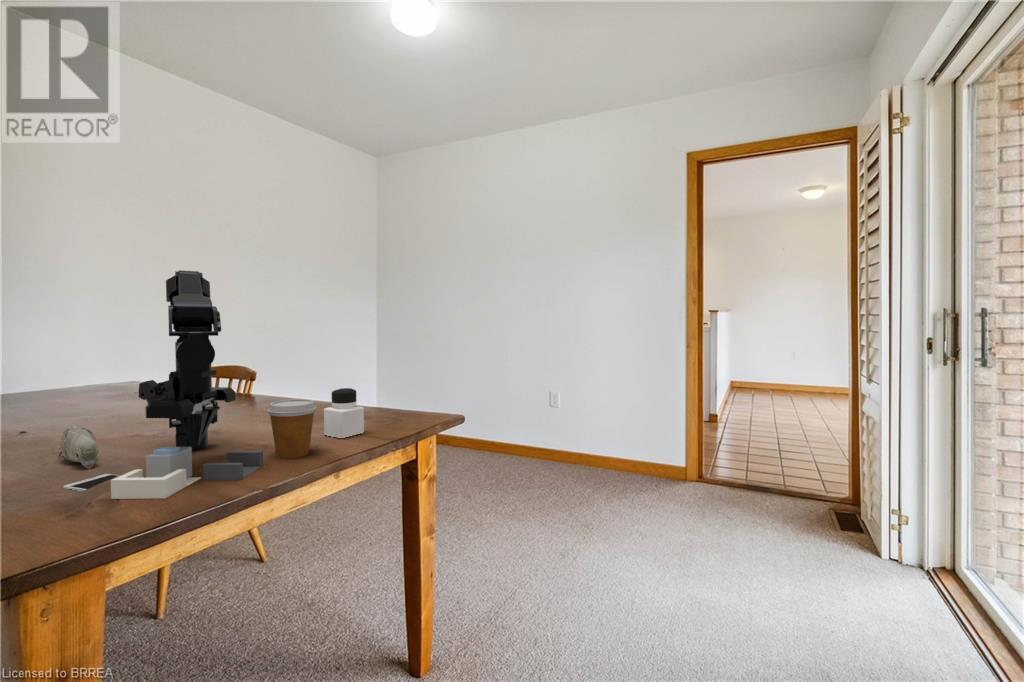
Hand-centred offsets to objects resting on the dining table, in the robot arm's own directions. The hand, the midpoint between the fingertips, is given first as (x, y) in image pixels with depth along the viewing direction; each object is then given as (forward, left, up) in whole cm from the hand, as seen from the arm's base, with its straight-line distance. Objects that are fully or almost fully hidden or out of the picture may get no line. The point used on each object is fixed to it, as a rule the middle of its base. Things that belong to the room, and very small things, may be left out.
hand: (195, 445), depth 92 cm
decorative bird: (-8, -28, -6) cm, 29 cm away
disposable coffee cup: (-10, +15, -6) cm, 18 cm away
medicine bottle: (-30, +20, -6) cm, 36 cm away
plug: (+8, 0, -5) cm, 9 cm away
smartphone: (+8, -9, -6) cm, 13 cm away
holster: (+2, +9, -5) cm, 10 cm away
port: (+10, 0, -5) cm, 12 cm away
